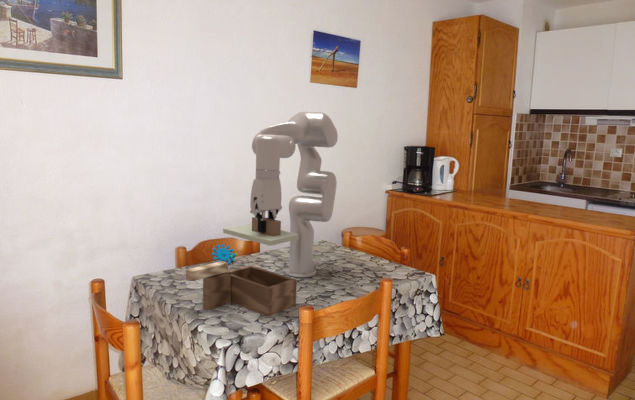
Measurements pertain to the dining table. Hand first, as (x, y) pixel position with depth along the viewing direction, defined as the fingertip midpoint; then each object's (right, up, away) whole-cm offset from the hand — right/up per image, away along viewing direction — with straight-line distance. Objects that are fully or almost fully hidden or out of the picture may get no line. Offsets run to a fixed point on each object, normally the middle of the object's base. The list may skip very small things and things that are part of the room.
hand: (265, 230), depth 154 cm
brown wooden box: (-6, -25, +2) cm, 26 cm away
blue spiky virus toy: (-23, -17, +48) cm, 55 cm away
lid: (-2, -2, +2) cm, 3 cm away
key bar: (-18, -14, -4) cm, 23 cm away
